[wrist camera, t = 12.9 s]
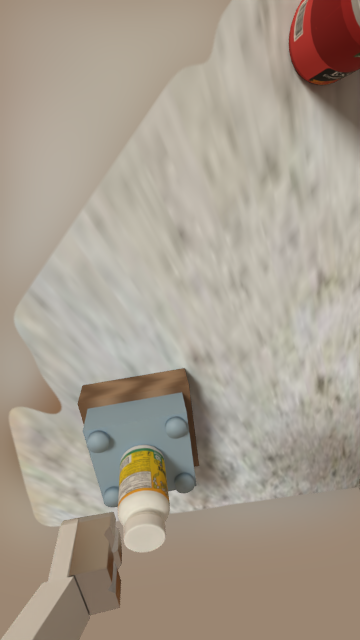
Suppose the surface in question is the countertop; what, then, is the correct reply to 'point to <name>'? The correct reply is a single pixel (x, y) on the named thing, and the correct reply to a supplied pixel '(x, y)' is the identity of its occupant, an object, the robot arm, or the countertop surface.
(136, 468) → the supplement bottle
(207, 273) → the countertop surface
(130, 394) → the base brick
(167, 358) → the countertop surface
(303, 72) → the canned food
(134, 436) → the top brick
